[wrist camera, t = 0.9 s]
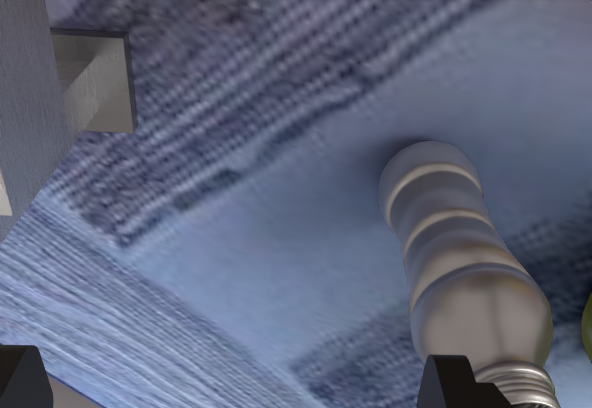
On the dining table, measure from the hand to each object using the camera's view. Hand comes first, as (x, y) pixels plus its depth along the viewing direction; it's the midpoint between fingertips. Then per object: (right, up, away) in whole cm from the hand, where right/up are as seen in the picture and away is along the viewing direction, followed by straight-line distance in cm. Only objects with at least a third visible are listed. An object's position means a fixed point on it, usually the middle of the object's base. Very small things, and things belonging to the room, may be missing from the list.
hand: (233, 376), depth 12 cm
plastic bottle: (+10, +6, +27) cm, 29 cm away
